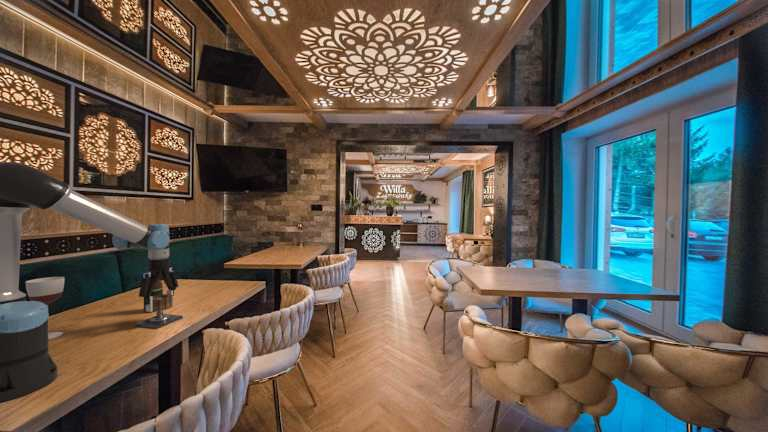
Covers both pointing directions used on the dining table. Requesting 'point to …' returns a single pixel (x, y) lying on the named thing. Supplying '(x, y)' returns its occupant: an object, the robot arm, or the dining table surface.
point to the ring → (162, 302)
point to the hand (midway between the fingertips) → (160, 307)
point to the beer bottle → (156, 291)
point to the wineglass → (46, 293)
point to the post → (159, 320)
